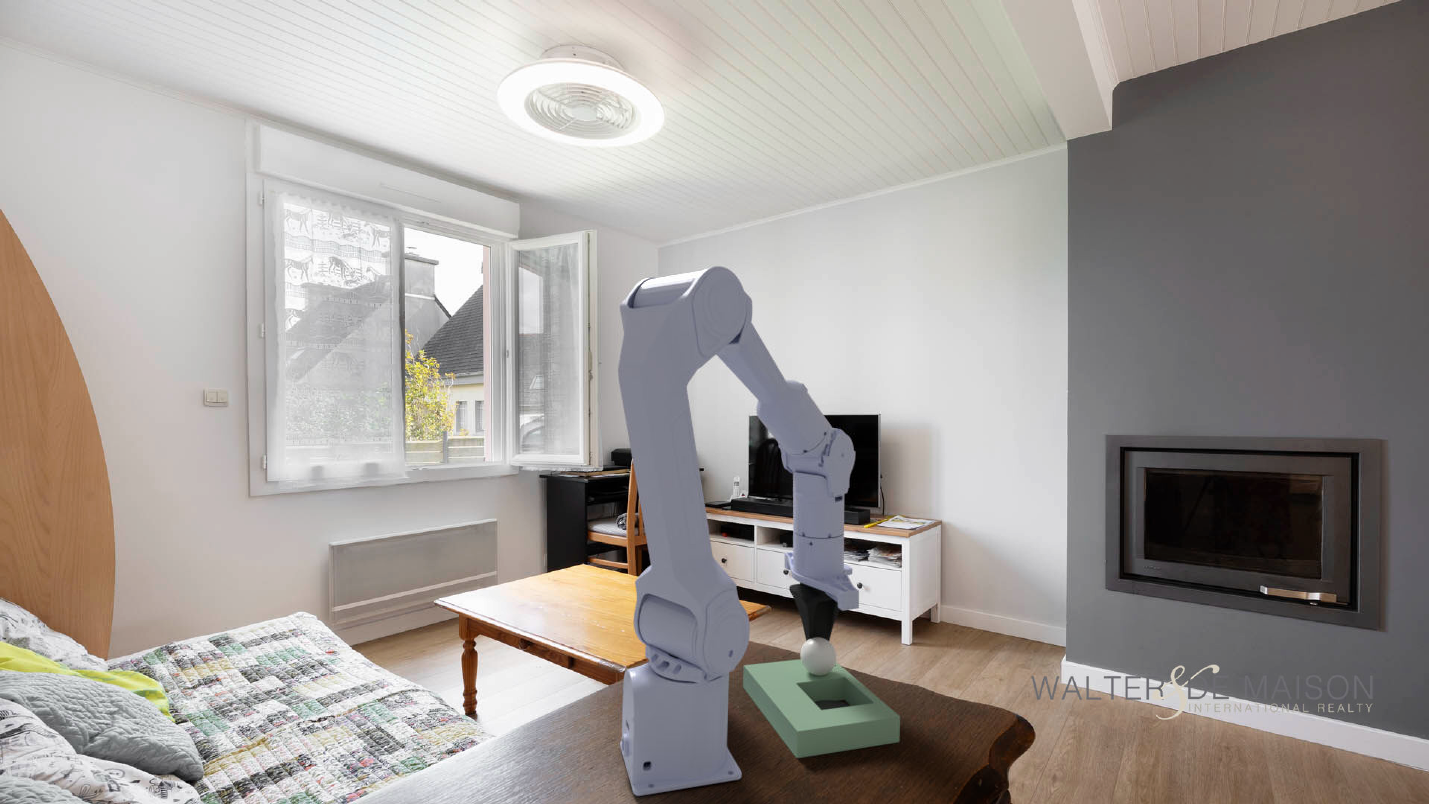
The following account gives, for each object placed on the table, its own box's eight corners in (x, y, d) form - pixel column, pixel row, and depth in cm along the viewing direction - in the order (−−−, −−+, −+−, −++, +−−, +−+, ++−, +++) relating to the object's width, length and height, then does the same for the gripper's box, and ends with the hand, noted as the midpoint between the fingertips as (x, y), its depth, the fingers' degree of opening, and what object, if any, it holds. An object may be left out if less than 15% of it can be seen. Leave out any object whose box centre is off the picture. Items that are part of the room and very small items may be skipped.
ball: (795, 678, 69) (815, 669, 66) (791, 641, 72) (810, 630, 69) (825, 680, 71) (846, 672, 68) (820, 644, 73) (840, 634, 70)
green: (796, 758, 57) (797, 731, 57) (742, 687, 71) (743, 665, 71) (899, 742, 61) (900, 716, 61) (828, 676, 75) (829, 656, 75)
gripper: (884, 545, 65) (883, 672, 66) (820, 514, 79) (820, 619, 80) (824, 552, 63) (823, 683, 64) (768, 519, 77) (769, 626, 77)
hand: (818, 648), depth 71 cm, fingers closed, pressing on ball
